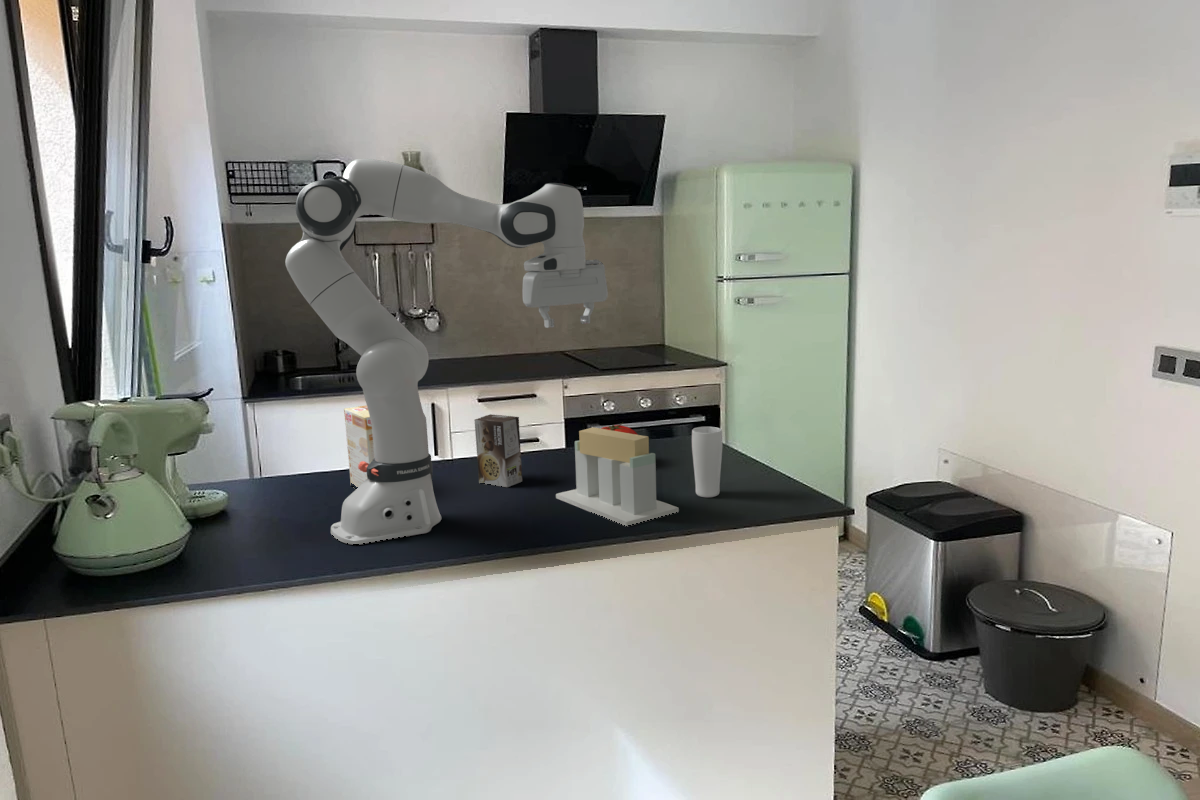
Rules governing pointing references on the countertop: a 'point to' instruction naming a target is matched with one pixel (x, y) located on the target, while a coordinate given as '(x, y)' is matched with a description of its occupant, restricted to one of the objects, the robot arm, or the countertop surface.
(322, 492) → the countertop surface
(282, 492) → the countertop surface
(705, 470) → the drinking glass
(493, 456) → the coffee box
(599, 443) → the tan wooden plank
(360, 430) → the coffeecake box
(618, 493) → the display stand
